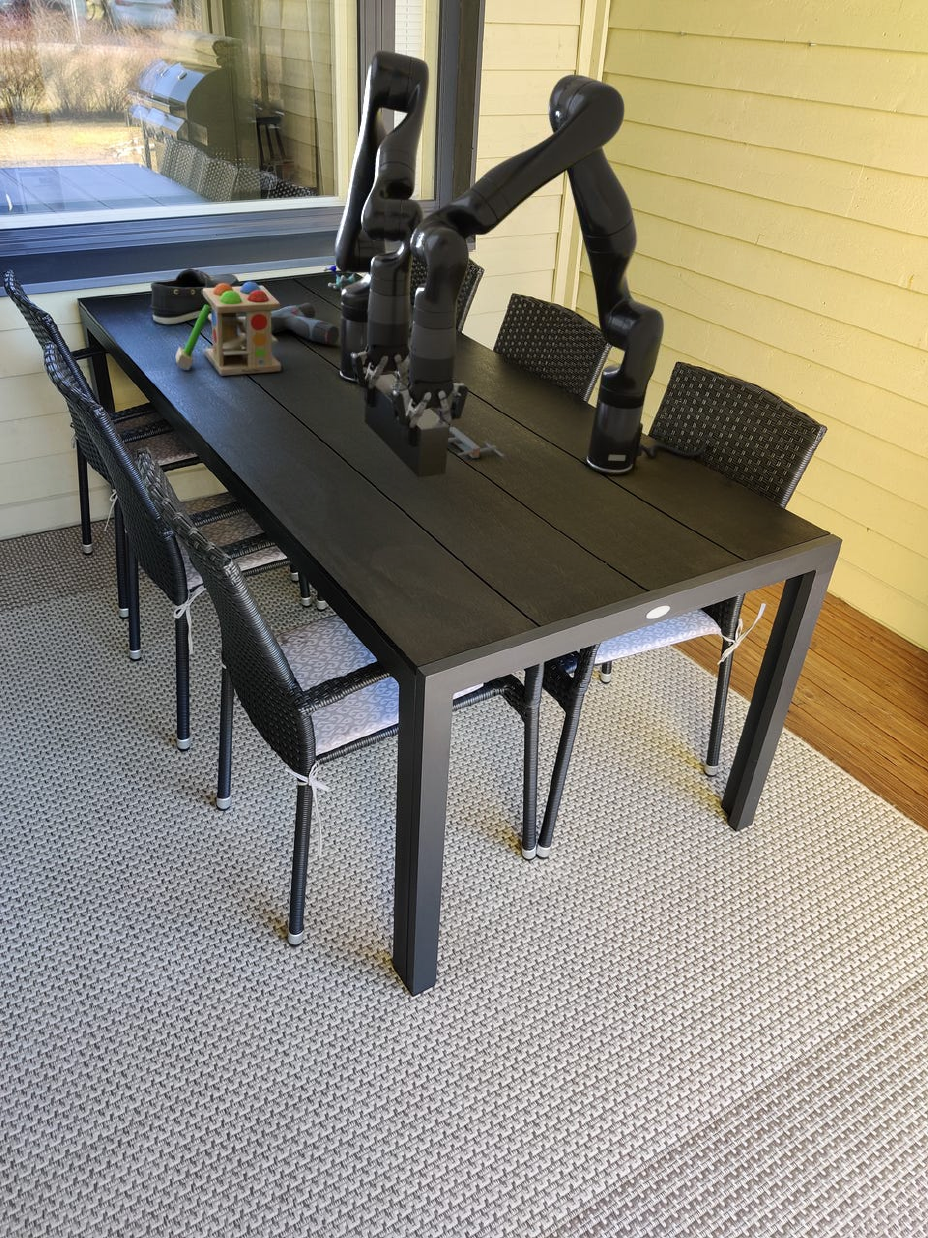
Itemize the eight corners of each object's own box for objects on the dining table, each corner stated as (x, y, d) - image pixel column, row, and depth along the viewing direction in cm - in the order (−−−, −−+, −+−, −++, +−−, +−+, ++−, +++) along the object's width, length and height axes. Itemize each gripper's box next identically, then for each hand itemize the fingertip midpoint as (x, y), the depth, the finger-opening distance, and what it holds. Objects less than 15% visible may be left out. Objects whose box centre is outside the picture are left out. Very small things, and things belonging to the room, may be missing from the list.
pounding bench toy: (183, 379, 220) (176, 299, 210) (169, 357, 231) (162, 280, 221) (282, 371, 230) (280, 294, 220) (264, 350, 240) (262, 276, 230)
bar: (364, 422, 190) (366, 376, 185) (390, 418, 192) (392, 373, 187) (418, 477, 172) (421, 429, 167) (445, 473, 175) (449, 425, 169)
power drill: (365, 313, 253) (305, 296, 261) (318, 330, 240) (256, 311, 248) (364, 334, 256) (305, 316, 264) (318, 351, 243) (257, 332, 251)
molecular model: (356, 287, 278) (344, 252, 277) (328, 299, 282) (316, 265, 280) (372, 289, 288) (361, 256, 287) (345, 301, 292) (334, 268, 291)
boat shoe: (260, 302, 272) (258, 264, 267) (170, 326, 248) (166, 284, 243) (226, 294, 278) (223, 256, 272) (135, 316, 254) (130, 275, 248)
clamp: (428, 429, 204) (470, 423, 208) (427, 439, 205) (469, 432, 209) (464, 459, 193) (507, 451, 198) (463, 469, 194) (506, 461, 199)
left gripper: (359, 325, 171) (357, 416, 181) (433, 319, 177) (427, 408, 187) (343, 311, 176) (342, 400, 186) (416, 306, 182) (411, 393, 192)
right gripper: (402, 360, 158) (397, 457, 167) (481, 353, 164) (472, 446, 173) (384, 345, 163) (380, 439, 173) (461, 338, 169) (453, 430, 179)
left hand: (385, 403), depth 186 cm, fingers closed on bar, 5 cm apart
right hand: (426, 442), depth 173 cm, fingers closed on bar, 5 cm apart
